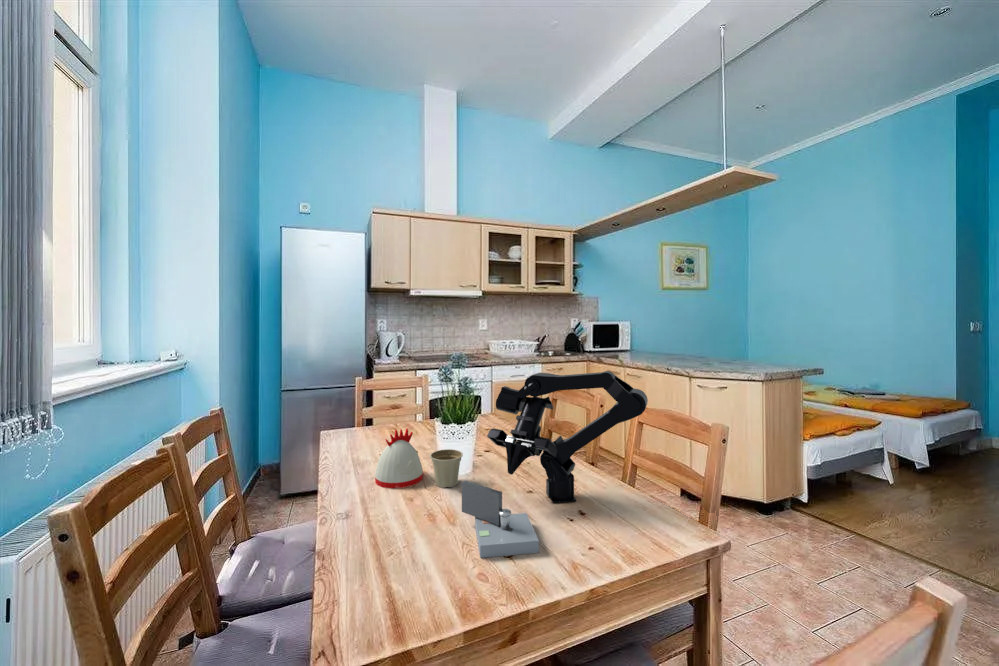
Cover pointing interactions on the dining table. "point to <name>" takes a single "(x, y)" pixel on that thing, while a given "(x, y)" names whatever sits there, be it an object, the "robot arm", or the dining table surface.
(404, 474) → the grey and red dome
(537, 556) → the dining table surface
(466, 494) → the gray pivoting panel
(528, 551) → the gray square base
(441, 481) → the flower pot
